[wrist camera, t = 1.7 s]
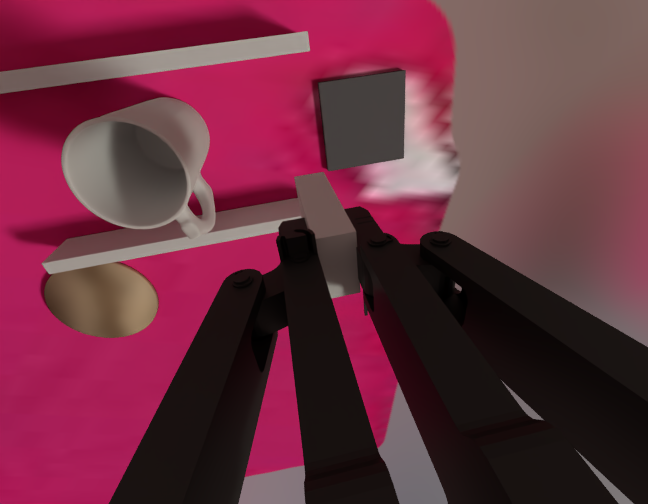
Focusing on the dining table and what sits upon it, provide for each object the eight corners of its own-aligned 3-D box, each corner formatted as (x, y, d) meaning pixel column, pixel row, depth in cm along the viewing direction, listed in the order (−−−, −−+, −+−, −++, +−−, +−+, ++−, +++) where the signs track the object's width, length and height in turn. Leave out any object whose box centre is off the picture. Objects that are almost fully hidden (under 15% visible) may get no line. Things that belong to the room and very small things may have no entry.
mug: (113, 119, 27) (30, 157, 17) (177, 77, 27) (129, 91, 17) (193, 210, 33) (164, 279, 23) (248, 177, 32) (244, 234, 22)
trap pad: (327, 169, 33) (328, 171, 32) (317, 82, 29) (318, 83, 28) (401, 156, 34) (403, 158, 33) (402, 70, 29) (405, 70, 29)
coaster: (80, 342, 39) (78, 346, 38) (24, 269, 33) (20, 272, 32) (172, 323, 40) (171, 326, 39) (134, 249, 34) (132, 252, 33)
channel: (73, 248, 33) (49, 274, 29) (-36, 79, 24) (-90, 83, 20) (322, 203, 35) (330, 222, 31) (300, 34, 26) (307, 31, 23)
